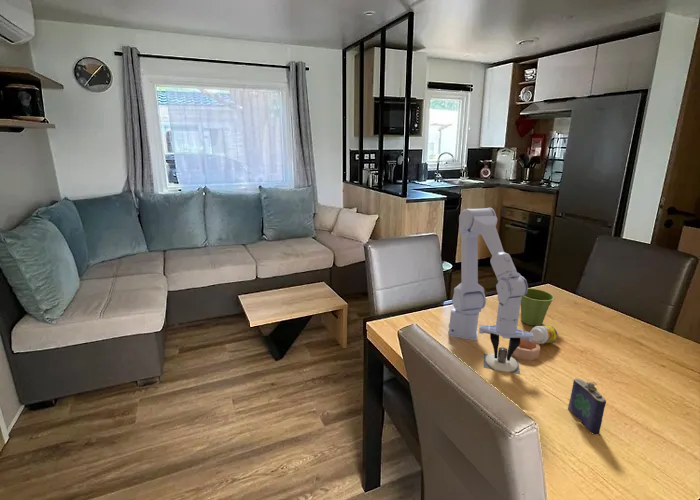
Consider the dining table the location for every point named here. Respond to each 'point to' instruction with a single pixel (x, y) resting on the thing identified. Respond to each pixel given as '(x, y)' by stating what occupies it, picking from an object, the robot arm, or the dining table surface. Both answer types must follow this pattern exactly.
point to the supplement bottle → (544, 334)
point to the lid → (501, 361)
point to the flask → (587, 405)
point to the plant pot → (535, 306)
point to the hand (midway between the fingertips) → (501, 357)
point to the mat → (494, 369)
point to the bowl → (527, 350)
